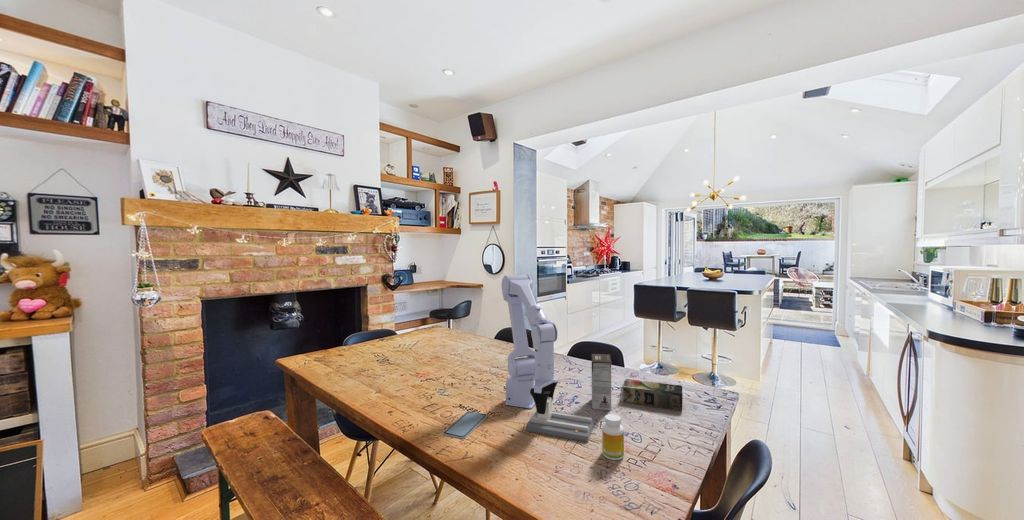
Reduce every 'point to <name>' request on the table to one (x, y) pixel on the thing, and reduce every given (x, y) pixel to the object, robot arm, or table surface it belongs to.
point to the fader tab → (547, 410)
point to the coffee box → (601, 381)
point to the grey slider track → (563, 425)
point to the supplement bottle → (613, 437)
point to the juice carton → (652, 394)
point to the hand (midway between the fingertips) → (544, 408)
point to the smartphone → (465, 425)
